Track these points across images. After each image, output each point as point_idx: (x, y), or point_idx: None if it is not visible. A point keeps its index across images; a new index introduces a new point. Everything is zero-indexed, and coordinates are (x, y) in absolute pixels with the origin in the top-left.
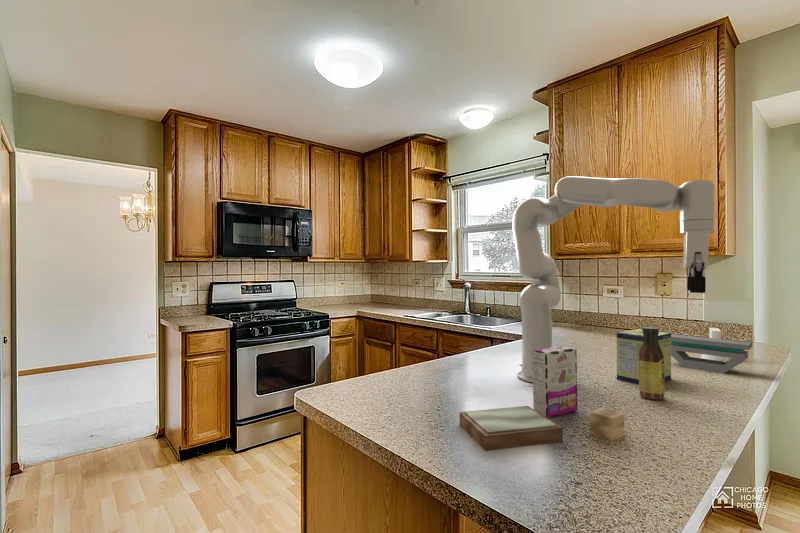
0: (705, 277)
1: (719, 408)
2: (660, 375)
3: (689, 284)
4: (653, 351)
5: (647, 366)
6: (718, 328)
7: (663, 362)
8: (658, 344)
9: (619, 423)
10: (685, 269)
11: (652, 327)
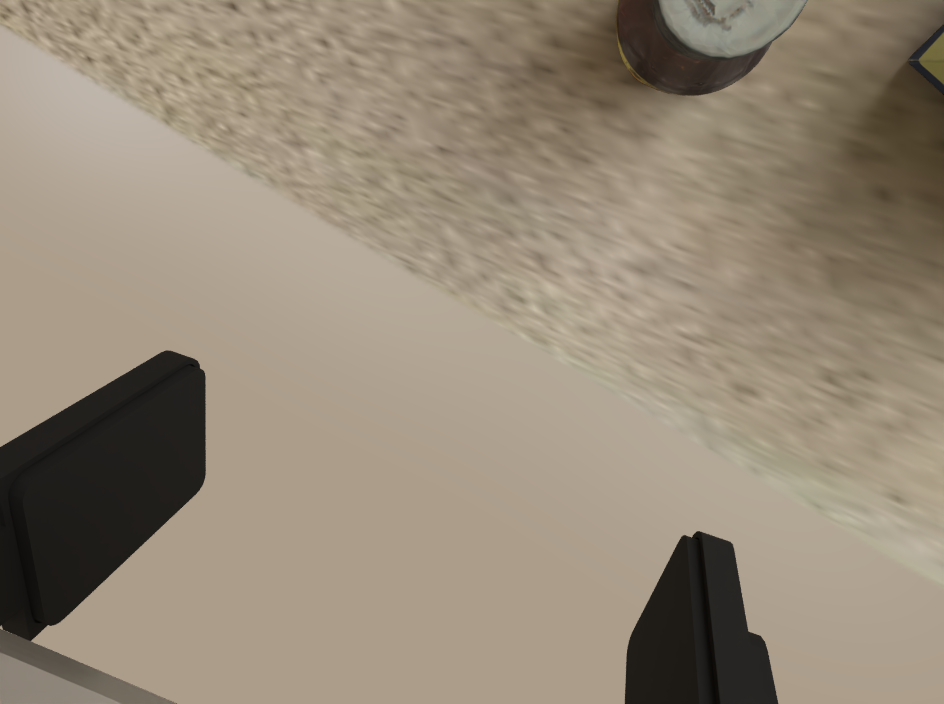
0: (2, 626)
1: (577, 277)
2: (623, 58)
3: (680, 614)
4: (624, 3)
5: None
6: None
7: (648, 84)
8: (670, 52)
9: None
10: (59, 655)
11: (778, 6)
